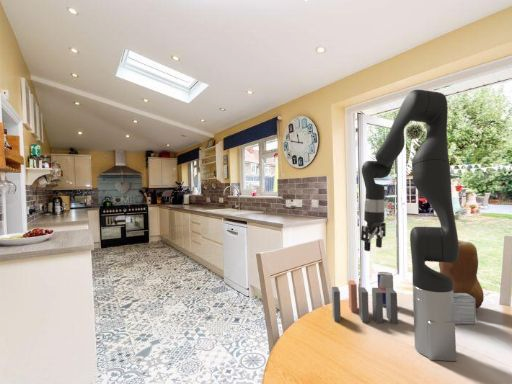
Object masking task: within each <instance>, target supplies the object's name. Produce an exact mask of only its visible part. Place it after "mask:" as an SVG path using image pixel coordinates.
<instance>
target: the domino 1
mask: <svg viewBox="0 0 512 384" xmlns="http://www.w3.org/2000/svg"><path fill="white" fill-rule="evenodd" d="M331 301H332V302H331V303H332V305H331V307H332V316H333V321H334V322H337V323H339V322H342V318H341V315H342V314H341V313H342V312H341V290H340V289H339V286H331Z"/></svg>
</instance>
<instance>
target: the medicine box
mask: <svg viewBox="0 0 512 384" xmlns="http://www.w3.org/2000/svg"><path fill="white" fill-rule="evenodd" d="M453 298H454V324H455V325H476V324H477V320H476V319H477V318H476V312H477V311H476V310H477V309H475V298H474V297H472V296H470V295H469V294H467V293H453Z"/></svg>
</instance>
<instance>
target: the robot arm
mask: <svg viewBox="0 0 512 384" xmlns="http://www.w3.org/2000/svg"><path fill="white" fill-rule="evenodd" d="M448 105H449V104H448V100H447V97H446V95H445V94H444V93H442V92H438V91H432V90H424V89H414V90H411V91H409V93H408V94H407V95H406V96H405V98H404V99H403V101H402V103H401V105H400V107H399V109H398V112H397V114H396V115H395V118H394V120H393V123H392V125H391V127H390V130H389V131H388V134H387V136H386V137H385V139H384V141H383V142H382V143H381V145H380V147H379V148H378V150H377V151H376V152H375V154H374V155H375V160H367V161H365V162H364V163H363V164H362V166H361V175H362V178H363V183H364V186H365V188H364V189H365V200H364V201H365V202H364V214H363V215H364V218H363V219H364V221H365V222H366V225H361V230H360V233H361V234H360V240H361V241H363V242H364V245H363V248H364V251H366V252H371V244H372V243H371V241H372V238H374V237H376V238H375V247H376V248H379V249H381V248H382V247H383V239H384V237H386V234H387V232H386V231H387V229H386V227H387V224H386V222H385V207H386V205H385V203H386V202H385V186H384V185H382V184H380V183H377V182H376V181H375V179H385V178H387V177H388V176H389V175H390V174H391V171H392V168H393V165H394V162H395V160H396V159H397V158H398V157H399V156H400V154H401V153H402V151H403V149H404V148H405V142H406V141H405V128H406V127H407V125H408V124H409V123H410V122H418V123H425V126H426V137H425V139H424V141H423V142H422V144H421V145H420V147H419V148H418V150H417V151H416V153H415V154H414V155H413V158H412V162H411V171H412V182H413V184H414V186H415V188H416V190H417V191H418V192H419V193H420V195H422V197H423V198H424V199H425V200H426V201H427V202H428V204H429V205H430V206H431V208H432V209H433V211H434V212H435V214H436V216H437V218H438V221H439V224H440V226H414V227H412V229H411V231H410V234H409V243H410V254H411V263H412V264H411V266H412V268H411V269H412V271H411V272H412V300H413V301H412V302H413V304H412V307H413V333H414V334H413V336H414V348H415V350H416V351H417V352H418V353H419V354H421V355H424V356H425V357H427V358H428V359H429V360H430V361H431V360H432V361H448V362H457V343H456V341H457V340H456V338H457V337H456V324H454V298H453V281H452V279H451V278H450V277H449V276H447V275H445V274H442V273H440V271H437V270H435V269H433V268H431V267H430V266H428V265H427V264H426V262H432V263H433V262H434V263H439V262H447V263H454V262H456V261H457V260H458V257H459V243H458V240H459V236H458V232H457V230H458V229H457V226H456V220H455V219H456V218H455V212H454V206H453V197H452V178H451V174H452V173H451V166H450V157H449V148H448V147H449V146H448V107H449V106H448Z"/></svg>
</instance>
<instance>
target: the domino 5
mask: <svg viewBox="0 0 512 384" xmlns="http://www.w3.org/2000/svg"><path fill="white" fill-rule="evenodd" d="M385 310H386V313H385V314H386V315H385V316H386V319H387V320H388V321H389V323H390V324H391V325H398V324H399V319H398V318H399V315H398V314H399V313H398V293H397V292H396V291H395V290H394V288H393V289H392V288H386V309H385Z"/></svg>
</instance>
